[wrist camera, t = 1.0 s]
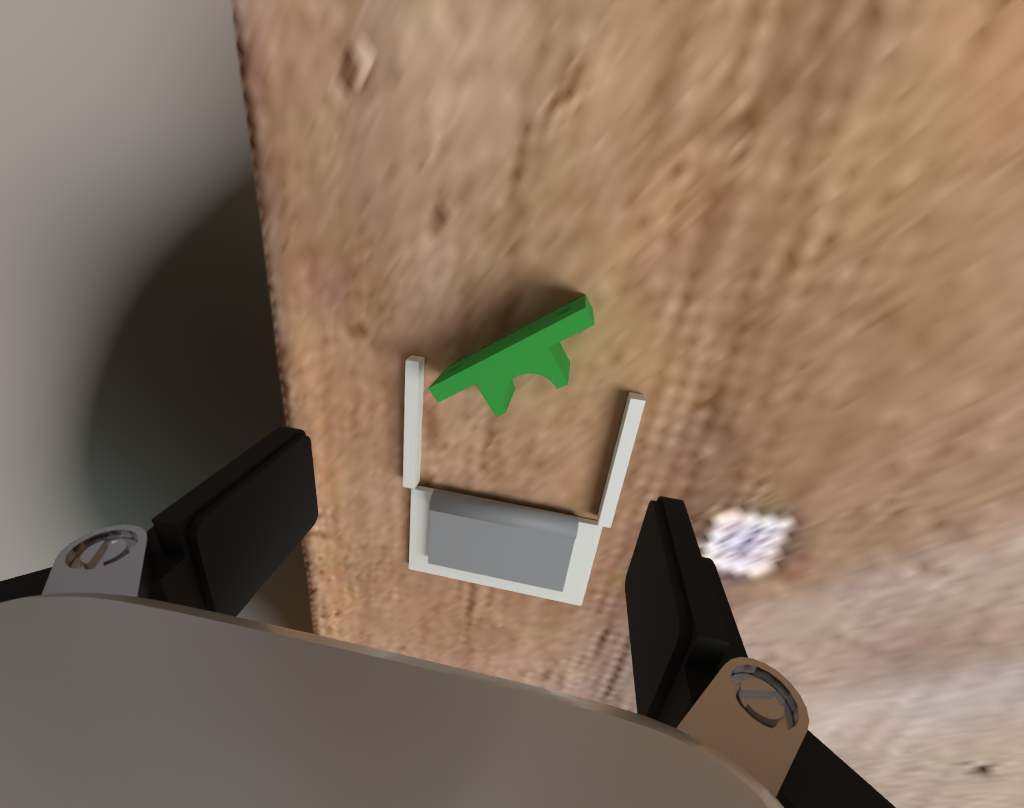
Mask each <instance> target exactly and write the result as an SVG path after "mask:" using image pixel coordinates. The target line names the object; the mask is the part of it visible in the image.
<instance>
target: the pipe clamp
mask: <svg viewBox="0 0 1024 808" xmlns="http://www.w3.org/2000/svg"><path fill="white" fill-rule="evenodd" d="M592 325H594V318H593V309H592V307H591V305H590V303H589V301H588V299H587V297H586V295H583V296H581V297H580V298H578V299H576V300H574V301H572V302H570V303H568V304H566V305H564V306H562V307H561V308H559V309H557V310H555V311H553V312H551V313H549V314H547V315H545V316H543V317H542V318H540V319H538V320H536V321H534V322H532V323H530V324H528V325H526V326H524V327H522V328H521V329H519V330H517V331H515V332H513V333H511V334H509V335H507V336H505V337H503V338H502V339H500V340H498V341H496V342H494V343H492V344H490V345H488V346H486V347H484V348H483V349H481V350H479V351H477V352H475V353H473V354H471V355H469V356H467V357H465V358H463V359H462V360H460V361H458V362H456V363H454V364H452V365H450V366H448V367H447V368H446V369H445V370H444V371H443V373H442V374H441V375H440V376H439V377H438V378H437V379H436V380H435V382H434V383H433V384H432V385H431V386H430V387H429V390H430V391H431V393H432V394H433V396H434V397H435V399H436V400H437V402H440V401H442V400H444V399H446V398H448V397H450V396H452V395H454V394H456V393H458V392H460V391H462V390H464V389H466V388H468V387H470V386H472V385H474V384H476V385H477V387H478V389H479V390H480V392H481V393H482V395H483V397H484V398H485V400H486V402H487V403H488V405H489V407H490V408H491V410H492V411H493V413H494V415H495V416H496V417H498V416H500V415H502V414H504V413H506V411H507V408H508V406H509V403H510V401H511V398H512V395H513V393H514V390H515V387H514V384H513V381H512V379H513V378H515V377H516V376H519V375H522V374H527V373H532V374H538V375H541V376H544V377H546V378H547V379H549V380H550V381H551V382H552V383H553V384H554V385H555V386H556V388H557V389H558V388H561V387H563V386H565V385H567V384H568V379H569V367H570V361H569V359H568V358H567V356H566V354H565V352H564V350H563V348H562V346H561V344H560V341H562V340H564V339H566V338H568V337H570V336H572V335H574V334H576V333H578V332H580V331H582V330H584V329H586V328H588V327H590V326H592Z"/></svg>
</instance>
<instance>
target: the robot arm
mask: <svg viewBox="0 0 1024 808" xmlns="http://www.w3.org/2000/svg"><path fill="white" fill-rule="evenodd" d="M317 517H318V506H317V496H316V487H315V477H314V467H313V458H312V448H311V440H310V438H309V437H308V436H306V434H305V432H304V431H303V430H301V429H295V428H290V427H284V426H283V427H279V428H277V429H276V430H274V431H273V432H272V433H270V434H269V435H267V436H266V437H265V438H263V439H262V440H261V441H259V442H258V443H256V444H255V445H254V446H252V447H251V448H249V449H248V450H247V451H245V452H244V453H243V454H241V455H240V456H238V457H237V458H236V459H234V460H233V461H232V462H230V463H229V464H227V465H226V466H225V467H223V468H222V469H221V470H219V471H218V472H216V473H215V474H214V475H212V476H211V477H209V478H208V479H207V480H205V481H204V482H203V483H201V484H200V485H198V486H197V487H196V488H194V489H193V490H192V491H190V492H189V493H187V494H186V495H185V496H183V497H182V498H181V499H179V500H178V501H176V502H175V503H173V504H172V505H171V506H169V507H168V508H167V509H165V510H164V511H162V512H161V513H160V514H158V515H157V516H156V517H154V518H153V519H152V522H153V525H154V527H152V528H151V529H149V530H148V531H147V532H146V531H144V530H143V529H142V528H140V527H137V526H134V525H118V526H111V527H107V528H103V529H99V530H96V531H93V532H91V533H89V534H86V535H84V536H82V537H80V538H78V539H77V540H75V541H74V542H72V543H70V544H69V545H68V546H67V547H65V548H64V549H63V550H62V551H61V552H60V553H59V555H58V556H57V558H56V560H55V562H54V564H53V567H51V568H47V569H43V570H40V571H36V572H33V573H29V574H26V575H22V576H18V577H15V578H11V579H8V580H4V581H0V808H896V807H894V806H893V805H892V804H891V803H890V802H889V801H888V800H887V799H885V798H884V797H883V796H882V795H881V794H880V793H879V792H877V791H876V790H875V789H874V788H873V787H872V786H871V785H870V784H868V783H867V782H866V781H865V780H864V779H863V778H862V777H861V776H859V775H858V774H857V773H856V772H855V771H854V770H853V769H851V768H850V767H849V766H848V765H847V764H846V763H845V762H844V761H842V760H841V759H840V758H839V757H838V756H837V755H836V754H834V753H833V752H832V751H831V750H830V749H829V748H828V747H827V746H825V745H824V744H823V743H822V742H821V741H820V740H819V739H818V738H816V737H815V736H814V735H813V734H812V733H811V732H810V731H808V724H809V717H808V712H807V708H806V706H805V704H804V702H803V700H802V698H801V696H800V694H799V693H798V692H797V691H796V689H795V688H794V687H793V686H792V684H791V683H790V682H789V681H788V680H787V679H786V678H785V677H783V676H782V675H781V674H780V673H779V672H778V671H776V670H775V669H773V668H772V667H770V666H768V665H767V664H765V663H763V662H760V661H758V660H755V659H752V658H748V656H747V653H746V651H745V648H744V645H743V642H742V639H741V637H740V634H739V631H738V628H737V625H736V623H735V620H734V617H733V614H732V611H731V608H730V606H729V603H728V600H727V597H726V594H725V592H724V589H723V586H722V583H721V580H720V578H719V575H718V572H717V569H716V566H715V564H714V562H713V561H712V560H711V559H710V558H705V557H702V556H701V553H700V550H699V547H698V543H697V540H696V537H695V534H694V531H693V528H692V525H691V522H690V519H689V516H688V513H687V510H686V507H685V504H684V502H683V501H682V500H678V499H673V498H668V497H662V496H660V497H659V498H658V499H657V501H653V500H651V501H650V502H649V505H648V508H647V511H646V515H645V518H644V521H643V524H642V527H641V530H640V534H639V537H638V540H637V543H636V546H635V550H634V553H633V556H632V559H631V562H630V565H629V569H628V572H627V575H626V581H625V593H626V603H627V613H628V623H629V633H630V643H631V654H632V664H633V674H634V684H635V694H636V704H637V713H633V712H630V711H627V710H624V709H620V708H617V707H614V706H611V705H607V704H603V703H599V702H595V701H591V700H587V699H583V698H580V697H576V696H572V695H568V694H564V693H560V692H556V691H552V690H548V689H544V688H540V687H536V686H532V685H528V684H524V683H520V682H515V681H511V680H507V679H503V678H499V677H494V676H490V675H486V674H482V673H477V672H473V671H469V670H465V669H461V668H456V667H452V666H448V665H444V664H440V663H435V662H431V661H427V660H422V659H418V658H414V657H410V656H405V655H401V654H397V653H392V652H388V651H384V650H379V649H375V648H371V647H366V646H362V645H358V644H353V643H349V642H345V641H340V640H336V639H332V638H327V637H323V636H319V635H314V634H310V633H305V632H300V631H297V630H292V629H288V628H283V627H279V626H274V625H270V624H265V623H261V622H257V621H252V620H248V619H243V618H239V617H236V616H237V615H238V614H239V612H240V611H241V610H242V609H243V608H244V606H246V604H247V603H248V602H249V601H250V600H251V598H252V597H253V596H254V595H255V594H256V593H257V591H258V590H259V589H260V588H261V587H262V586H263V584H264V583H265V582H266V581H267V580H268V578H269V577H270V576H271V575H272V574H273V572H274V571H275V570H276V569H277V568H278V567H279V565H280V564H281V563H282V562H283V561H284V560H285V558H286V557H287V556H288V555H289V554H290V553H291V551H292V550H293V549H294V548H295V547H296V546H297V544H298V543H299V542H300V541H301V540H302V539H303V537H304V536H305V535H306V534H307V533H308V531H309V530H310V529H311V528H312V527H313V525H314V524H315V522H316V520H317Z"/></svg>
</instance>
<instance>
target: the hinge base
mask: <svg viewBox="0 0 1024 808" xmlns="http://www.w3.org/2000/svg"><path fill="white" fill-rule="evenodd" d="M424 362H425V357H420V356H414V355H411V356H410V357H409V358H407V359H406V364H405V412H404V459H403V487H407V488H411V514H410V546H409V569H412V570H417V571H421V572H426V573H431V574H435V575H440V576H445V577H449V578H454V579H458V580H463V581H468V582H472V583H477V584H482V585H486V586H491V587H496V588H500V589H505V590H509V591H514V592H519V593H523V594H528V595H533V596H537V597H542V598H547V599H551V600H556V601H560V602H565V603H570V604H574V605H579V606H582V602H583V598H584V595H585V591H586V587H587V583H588V580H589V576H590V572H591V568H592V565H593V561H594V557H595V553H596V550H597V546H598V542H599V538H600V534H601V531H602V527H603V526H604V527H609V528H611V525H612V521H613V517H614V514H615V510H616V506H617V503H618V499H619V496H620V492H621V488H622V485H623V481H624V477H625V474H626V470H627V467H628V463H629V459H630V456H631V452H632V449H633V445H634V441H635V438H636V434H637V430H638V427H639V423H640V420H641V416H642V412H643V409H644V405H645V398H644V395H643V394H638V393H632V392H629V395H628V398H627V402H626V406H625V410H624V414H623V418H622V422H621V426H620V430H619V434H618V437H617V441H616V445H615V449H614V453H613V457H612V461H611V465H610V469H609V473H608V476H607V480H606V484H605V488H604V492H603V496H602V500H601V504H600V508H599V512H598V516H597V517H598V521H596V520H591V519H585V518H580V517H578V516H573V515H568V514H562V513H557V512H552V511H547V510H542V509H537V508H532V507H527V506H522V505H517V504H512V503H507V502H502V501H497V500H491V499H486V498H481V497H476V496H471V495H466V494H461V493H456V492H451V491H446V490H441V489H436V488H435V489H433V488H428V487H423V486H418V485H417V484H418V483H419V481H420V461H421V436H422V412H423V387H424Z"/></svg>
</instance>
